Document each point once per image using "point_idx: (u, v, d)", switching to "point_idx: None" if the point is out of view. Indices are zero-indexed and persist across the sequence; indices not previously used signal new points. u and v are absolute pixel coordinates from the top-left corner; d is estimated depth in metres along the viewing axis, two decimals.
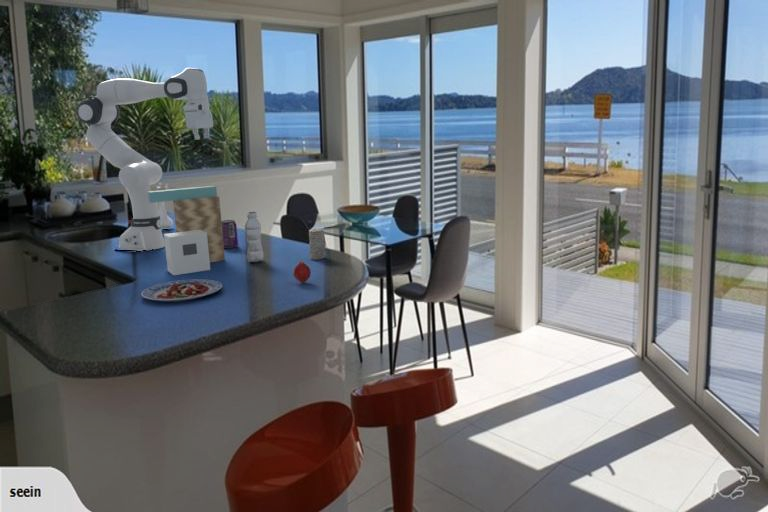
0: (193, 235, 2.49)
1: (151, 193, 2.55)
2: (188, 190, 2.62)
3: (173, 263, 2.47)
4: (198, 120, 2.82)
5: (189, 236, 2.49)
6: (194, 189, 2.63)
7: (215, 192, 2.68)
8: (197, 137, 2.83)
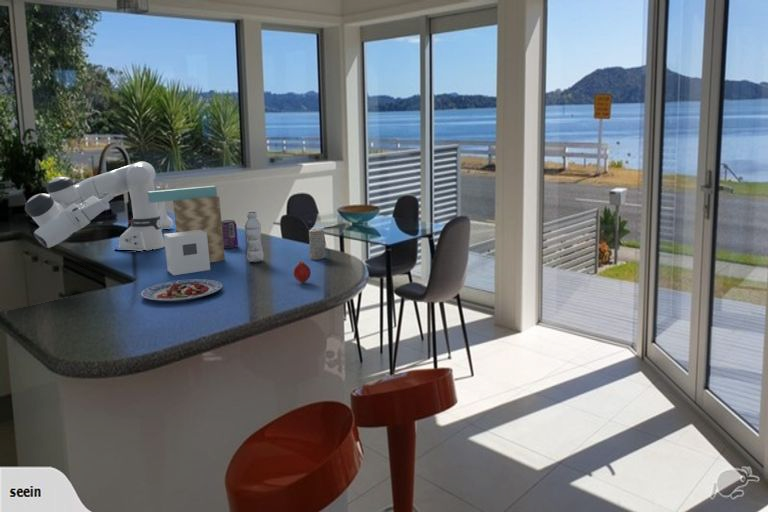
0: (193, 235, 2.49)
1: (151, 193, 2.55)
2: (188, 190, 2.62)
3: (173, 263, 2.47)
4: (90, 204, 2.41)
5: (189, 236, 2.49)
6: (194, 189, 2.63)
7: (215, 192, 2.68)
8: (109, 195, 2.44)
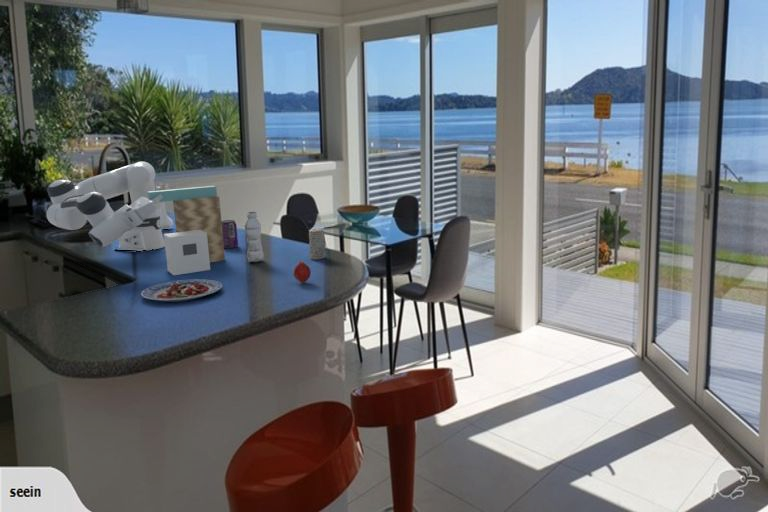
0: (193, 235, 2.49)
1: (151, 193, 2.55)
2: (188, 190, 2.62)
3: (173, 263, 2.47)
4: (143, 204, 2.51)
5: (189, 236, 2.49)
6: (194, 189, 2.63)
7: (215, 192, 2.68)
8: (159, 196, 2.55)
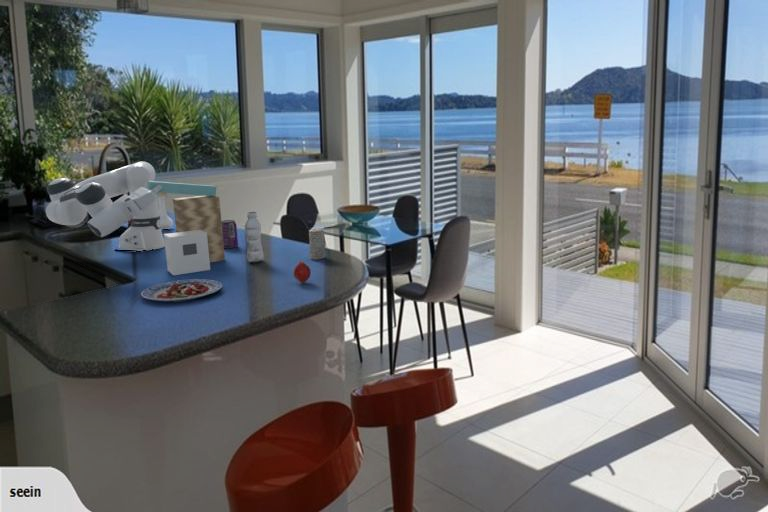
0: (193, 235, 2.49)
1: (151, 182, 2.54)
2: (188, 185, 2.62)
3: (173, 263, 2.47)
4: (142, 194, 2.50)
5: (189, 236, 2.49)
6: (194, 185, 2.63)
7: (214, 191, 2.68)
8: (158, 186, 2.55)
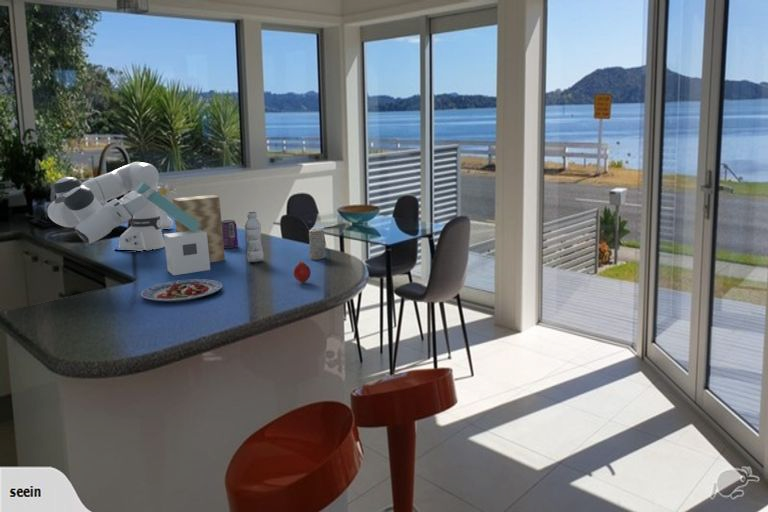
0: (193, 235, 2.49)
1: (144, 184, 2.41)
2: (176, 208, 2.48)
3: (173, 263, 2.47)
4: (132, 198, 2.36)
5: (189, 236, 2.49)
6: (181, 211, 2.50)
7: (196, 227, 2.54)
8: (150, 189, 2.41)
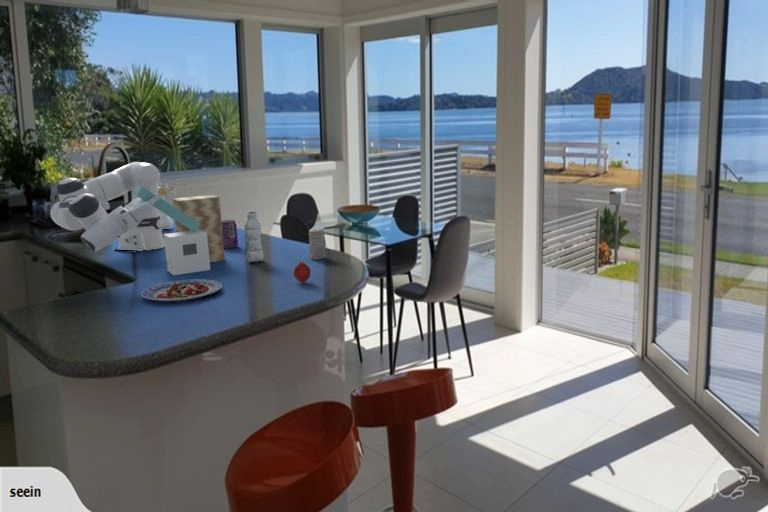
0: (193, 235, 2.49)
1: (143, 188, 2.39)
2: (175, 209, 2.47)
3: (173, 263, 2.47)
4: (138, 206, 2.36)
5: (189, 236, 2.49)
6: (181, 212, 2.49)
7: (196, 227, 2.53)
8: (155, 197, 2.41)
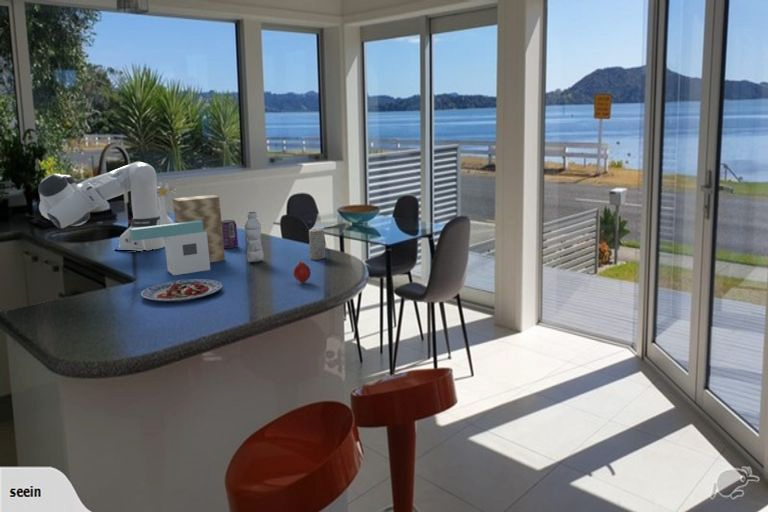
0: (193, 235, 2.49)
1: (134, 231, 2.40)
2: (173, 226, 2.48)
3: (173, 263, 2.47)
4: (105, 182, 2.35)
5: (189, 236, 2.49)
6: (179, 225, 2.49)
7: (201, 227, 2.54)
8: (124, 174, 2.38)
